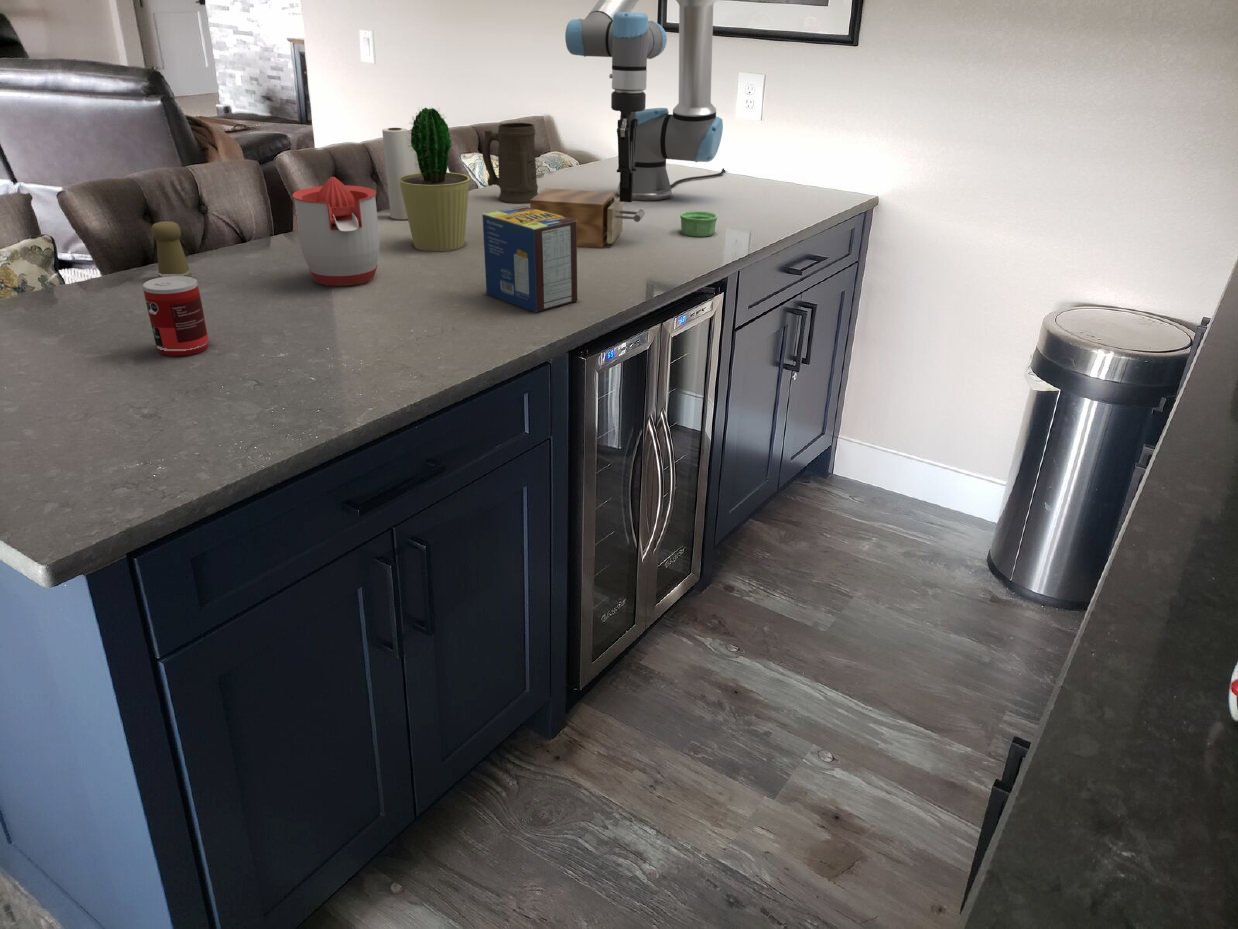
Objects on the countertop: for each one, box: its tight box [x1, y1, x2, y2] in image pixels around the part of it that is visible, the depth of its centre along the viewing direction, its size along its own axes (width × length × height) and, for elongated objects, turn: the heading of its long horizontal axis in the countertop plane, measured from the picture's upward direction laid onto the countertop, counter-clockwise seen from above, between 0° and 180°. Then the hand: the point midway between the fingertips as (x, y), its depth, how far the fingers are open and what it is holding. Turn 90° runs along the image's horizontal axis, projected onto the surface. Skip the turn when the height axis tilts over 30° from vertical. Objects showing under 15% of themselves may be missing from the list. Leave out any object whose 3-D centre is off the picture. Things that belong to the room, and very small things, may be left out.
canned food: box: [142, 276, 210, 357], centre depth 148 cm, size 8×8×11 cm
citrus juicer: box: [291, 176, 380, 287], centre depth 181 cm, size 16×17×20 cm
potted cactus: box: [399, 106, 471, 252], centre depth 204 cm, size 15×15×30 cm
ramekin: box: [679, 210, 718, 238], centre depth 225 cm, size 9×9×4 cm
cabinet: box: [529, 187, 616, 249], centre depth 217 cm, size 17×14×10 cm
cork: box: [150, 220, 193, 278], centre depth 182 cm, size 6×6×11 cm
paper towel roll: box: [381, 127, 421, 220], centre depth 229 cm, size 7×6×21 cm
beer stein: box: [481, 122, 539, 204], centre depth 252 cm, size 15×11×20 cm
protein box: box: [482, 205, 578, 313], centre depth 174 cm, size 10×15×16 cm
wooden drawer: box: [603, 196, 646, 245], centre depth 216 cm, size 21×13×8 cm, turn 79°
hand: (625, 201), depth 213 cm, fingers closed
